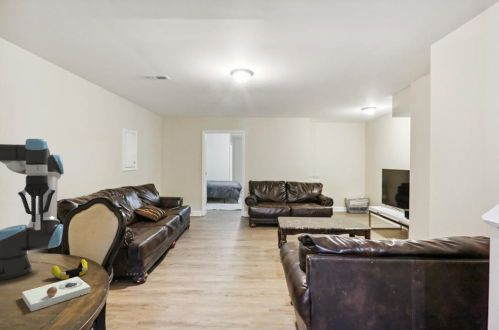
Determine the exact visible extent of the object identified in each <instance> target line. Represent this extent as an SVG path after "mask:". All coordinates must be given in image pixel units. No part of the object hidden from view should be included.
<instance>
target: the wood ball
mask: <svg viewBox="0 0 499 330" xmlns="http://www.w3.org/2000/svg"><path fill="white" fill-rule="evenodd" d="M56 293H57V288H56V287H50V288H49V289H48V290H47V295H48V296H54V295H55V294H56Z"/></svg>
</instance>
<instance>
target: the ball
mask: <svg viewBox="0 0 499 330" xmlns="http://www.w3.org/2000/svg"><path fill="white" fill-rule="evenodd" d="M73 286H74V284H73V283H68V284H66V285H65V287H66V288H68V287H73Z"/></svg>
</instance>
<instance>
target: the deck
mask: <svg viewBox="0 0 499 330" xmlns="http://www.w3.org/2000/svg"><path fill="white" fill-rule="evenodd" d="M68 283H73V284H74V286H73V287H68V288H66V287H65V285H66V284H68ZM50 287H56V288H57V293H56V294H55V295H54V296H48V295H47V290H48V289H49V288H50ZM91 290H92V289H91V286H90V285H89V284H88V283H87V282H85V281H84V280H82V279H81V278H80V276H77V277H73V278H70V279H64V280H60V281H57V282H53V283H50V284H45V285H41V286H39V287H36V288H32V289H27V290H24V291H21V292H22V293H21V297H22V298H21V299H22V300H23V301H24V303H25V304H26V306H27V307H28V309H29V311H30V312H34V311H38V310H40V309H43V308H47V307H50V306H52V305H56V304H60V303H62V302H66V301H68V300H72V299H74V298H78V297H81V296H84V295H87V294H90V293H91ZM80 295H81V296H80Z"/></svg>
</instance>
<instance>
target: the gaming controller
mask: <svg viewBox="0 0 499 330" xmlns="http://www.w3.org/2000/svg"><path fill="white" fill-rule="evenodd" d="M86 273H88V262H87V261H86V260H85V259H81V260H80V261H79V263H78V266H77V267H75V268H70V269H67V270H65V271H63V270H61V268H60V267H59V266H58V265H54V266H53V267H52V268H51V274H52V275H53V277H55V278H56V279H58V280H60V281H64V280H67V279H71V278H74V277H80V276H83V275H85V274H86Z"/></svg>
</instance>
